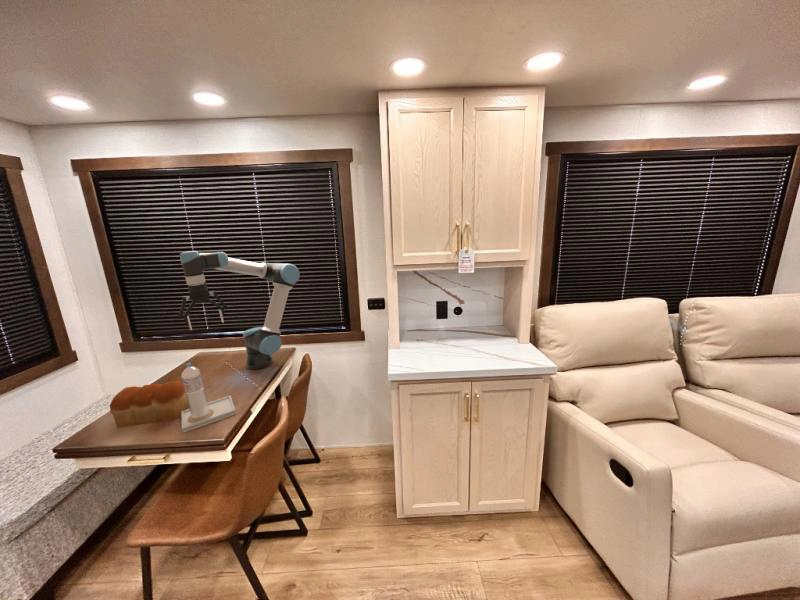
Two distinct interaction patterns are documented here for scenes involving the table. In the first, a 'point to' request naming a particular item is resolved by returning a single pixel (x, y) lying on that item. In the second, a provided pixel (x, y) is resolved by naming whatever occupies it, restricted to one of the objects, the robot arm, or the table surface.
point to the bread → (149, 403)
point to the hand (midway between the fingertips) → (207, 325)
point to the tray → (216, 412)
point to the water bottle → (195, 392)
